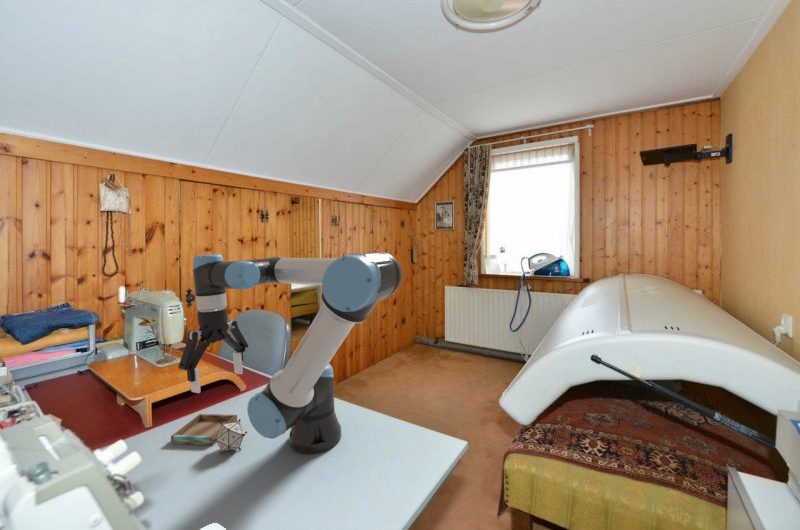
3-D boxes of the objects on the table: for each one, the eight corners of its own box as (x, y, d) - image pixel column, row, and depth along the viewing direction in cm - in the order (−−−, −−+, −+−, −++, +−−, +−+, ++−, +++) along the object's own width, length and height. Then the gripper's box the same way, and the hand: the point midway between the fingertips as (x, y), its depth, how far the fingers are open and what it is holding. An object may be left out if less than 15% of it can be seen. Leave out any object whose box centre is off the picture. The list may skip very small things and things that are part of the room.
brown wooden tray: (237, 421, 115) (237, 414, 115) (212, 445, 102) (212, 437, 102) (200, 420, 116) (199, 413, 116) (171, 443, 103) (170, 436, 103)
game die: (234, 465, 99) (229, 450, 93) (209, 452, 100) (202, 437, 94) (255, 435, 106) (252, 420, 99) (231, 423, 107) (226, 407, 101)
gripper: (239, 300, 111) (245, 365, 113) (157, 318, 89) (165, 398, 91) (257, 301, 108) (262, 368, 110) (176, 320, 86) (184, 403, 87)
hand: (218, 382), depth 100 cm, fingers open, 13 cm apart
